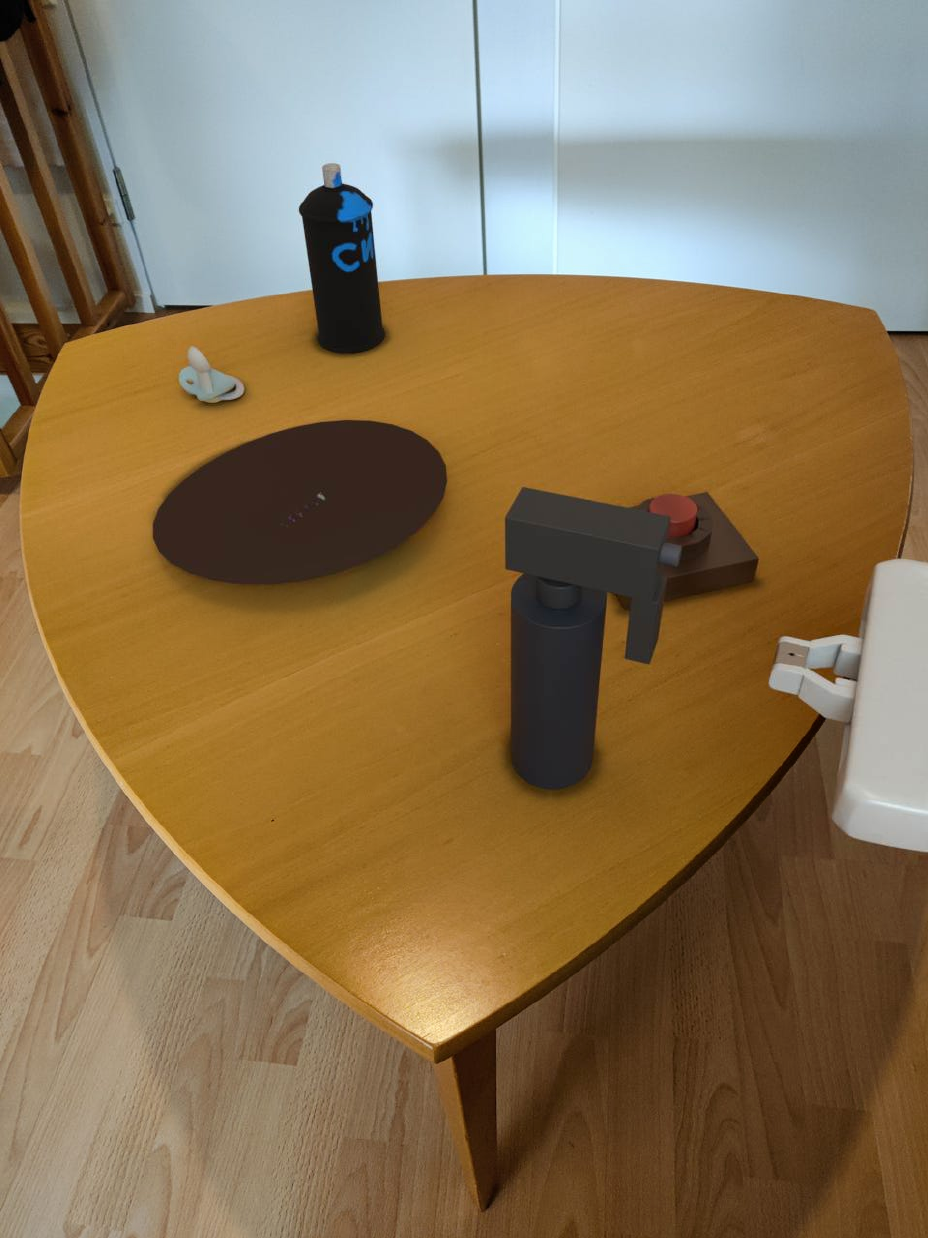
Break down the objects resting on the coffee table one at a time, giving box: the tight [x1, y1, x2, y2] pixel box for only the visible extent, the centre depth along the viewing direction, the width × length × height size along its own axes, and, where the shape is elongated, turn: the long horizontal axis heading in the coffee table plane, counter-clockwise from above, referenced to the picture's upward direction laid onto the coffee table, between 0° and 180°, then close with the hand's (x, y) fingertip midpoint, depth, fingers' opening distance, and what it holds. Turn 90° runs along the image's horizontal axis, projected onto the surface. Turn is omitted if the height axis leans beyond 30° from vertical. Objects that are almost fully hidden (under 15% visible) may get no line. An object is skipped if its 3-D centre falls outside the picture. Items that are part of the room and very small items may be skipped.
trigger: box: [624, 577, 667, 665], centre depth 61 cm, size 2×2×5 cm
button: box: [649, 493, 697, 537], centre depth 85 cm, size 4×4×2 cm
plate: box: [152, 419, 448, 585], centre depth 94 cm, size 28×28×4 cm
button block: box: [614, 491, 760, 611], centre depth 87 cm, size 12×10×4 cm
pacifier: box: [178, 345, 245, 404], centre depth 110 cm, size 7×6×6 cm
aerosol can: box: [298, 162, 386, 354], centre depth 114 cm, size 8×8×20 cm
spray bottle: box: [504, 486, 682, 790], centre depth 65 cm, size 10×6×22 cm, turn 69°
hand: (773, 660), depth 59 cm, fingers closed
